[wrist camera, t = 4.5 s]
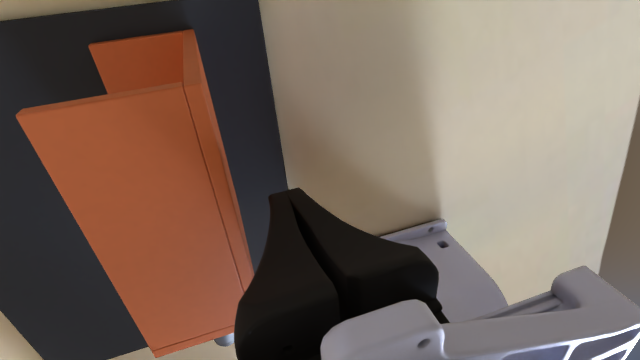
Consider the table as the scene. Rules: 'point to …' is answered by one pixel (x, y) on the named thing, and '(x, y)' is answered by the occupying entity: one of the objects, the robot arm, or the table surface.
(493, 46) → the table surface
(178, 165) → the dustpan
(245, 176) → the mat
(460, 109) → the table surface
